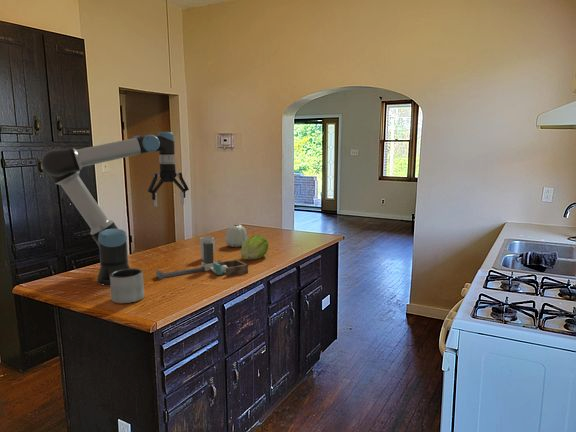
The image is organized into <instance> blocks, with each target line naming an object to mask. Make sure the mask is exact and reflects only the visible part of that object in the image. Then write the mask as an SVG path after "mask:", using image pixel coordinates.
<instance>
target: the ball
mask: <svg viewBox="0 0 576 432" xmlns="http://www.w3.org/2000/svg"><path fill="white" fill-rule="evenodd" d="M226 268H228V267H227V266H226V265H222V266H221V271H222V272H223V274H226Z"/></svg>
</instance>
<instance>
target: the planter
mask: <svg viewBox="0 0 576 432" xmlns="http://www.w3.org/2000/svg"><path fill="white" fill-rule="evenodd" d="M143 273H144V272H143V270H142V269H139V268H130V269H121V270H117V271H114V272H112V273H110V299H111V300H110V301H112V302H113V303H115V302H117V303H116V304H118V303H129V304H132V303H131V302H134V303H137V302H140V301H141V300H143V298H144V297H145V287H144V274H143ZM136 301H137V302H136Z"/></svg>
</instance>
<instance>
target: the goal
mask: <svg viewBox="0 0 576 432" xmlns="http://www.w3.org/2000/svg"><path fill="white" fill-rule="evenodd" d="M218 264H220V265H221V266H222V265H226V266H227V267H228V268H226V273H225V277H227V278H228V277H232V276H238V275H244V274H248V273H249V264H247V263H245V262H242V261H240V260H239V259H230V260H224V261H222V262H218Z"/></svg>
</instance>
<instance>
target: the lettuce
mask: <svg viewBox="0 0 576 432" xmlns="http://www.w3.org/2000/svg"><path fill="white" fill-rule="evenodd" d="M240 248H241V249H240V256H241V258H242V259H243V260H252V261H253V260H260V259H261V258H262V257H264V256H265V255H266V254H267V252H268V250H269V243H268V240H267V238H265V236H262V235H259V234H258V235H257V234H255V235H253V236H251V237H248V239H247V240H246V241H245V242H244V243H243V245H242V247H240Z"/></svg>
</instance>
